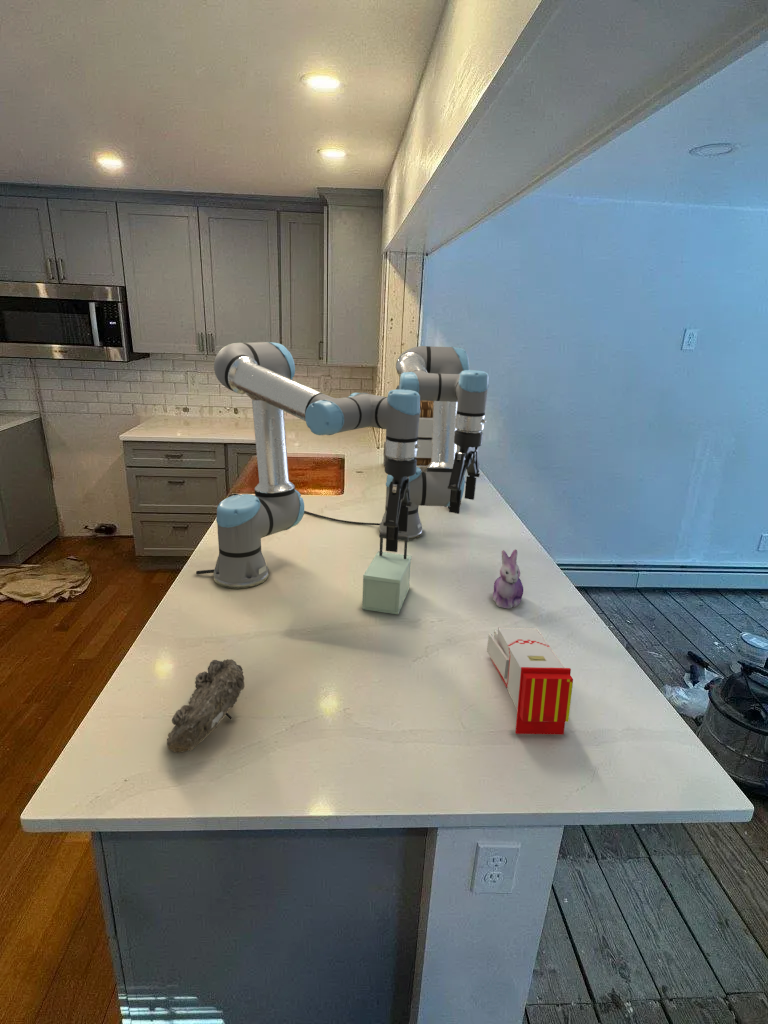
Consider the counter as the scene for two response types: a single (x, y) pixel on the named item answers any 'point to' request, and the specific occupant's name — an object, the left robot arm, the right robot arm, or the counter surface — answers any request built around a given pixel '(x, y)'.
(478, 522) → the counter surface
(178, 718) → the fossil
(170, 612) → the counter surface
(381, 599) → the chest
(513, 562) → the figurine
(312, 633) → the counter surface
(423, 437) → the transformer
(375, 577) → the lid
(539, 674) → the toy
